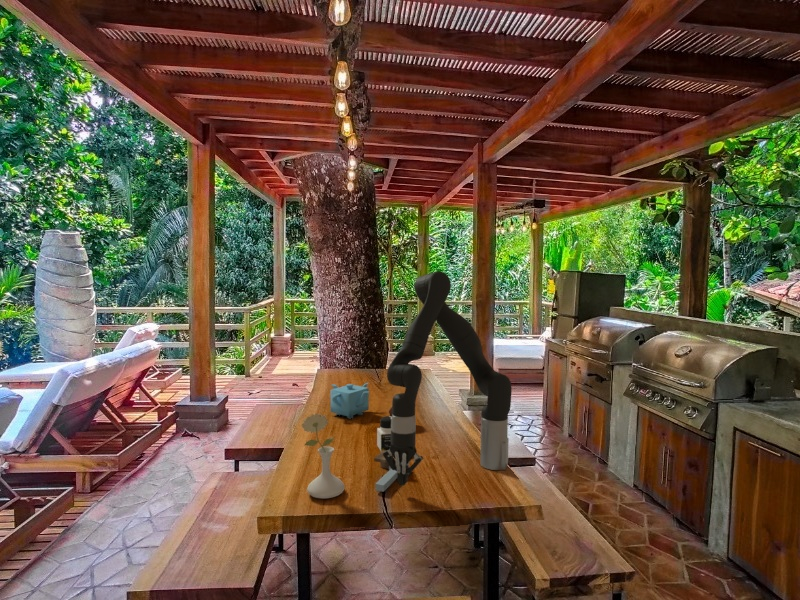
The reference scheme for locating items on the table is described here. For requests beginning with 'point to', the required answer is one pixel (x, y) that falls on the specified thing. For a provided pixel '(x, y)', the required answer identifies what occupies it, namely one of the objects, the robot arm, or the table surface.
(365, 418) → the table surface
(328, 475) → the flower in vase
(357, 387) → the teakettle
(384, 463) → the block
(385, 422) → the medicine bottle
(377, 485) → the link
